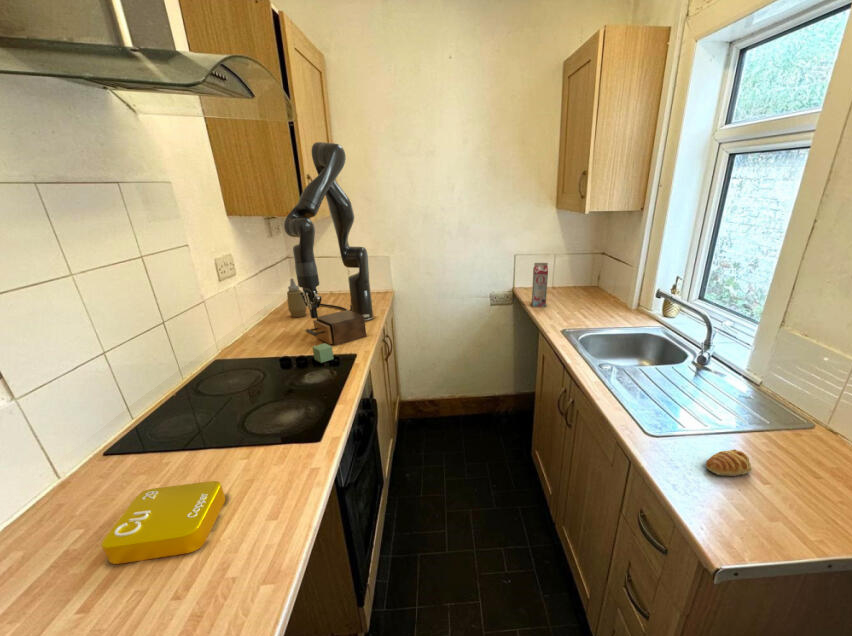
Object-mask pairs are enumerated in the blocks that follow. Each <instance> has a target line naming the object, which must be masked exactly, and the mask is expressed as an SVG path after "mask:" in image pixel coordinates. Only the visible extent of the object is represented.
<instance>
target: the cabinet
mask: <svg viewBox="0 0 852 636" xmlns="http://www.w3.org/2000/svg"><path fill="white" fill-rule="evenodd" d="M315 320H317V321H319V322H320V321H322V322H324V323H327V324H329V325H331V329H332V336H333V340H332V344H331V345H333V346H338V345H342V344H345V343H348V342H351V341H356V340H359V339H362V338H365V337H367V328H366V321H365V320H364V316H363V315H360V314H358V313H355V312H352V311H350V309H347V310H342V311H336V312H333V313H329V314H328V313H327V314H324V315H321V316H319V315H318V318H315Z"/></svg>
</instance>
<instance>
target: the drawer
mask: <svg viewBox="0 0 852 636" xmlns="http://www.w3.org/2000/svg"><path fill="white" fill-rule="evenodd" d="M312 323H313V327H314V328H311V329H309V328H307V329H305V332H306V333H307V334H309V335H311V336H313V337H315V338H316V339H318V340H321V341H322V342H324V343H326V344H328V345H333V344H332V340H333V336H332V329H331V325H329V324H327V323H324V322H322V321H320V322H319V321H317V320H316V319H313V320H312Z"/></svg>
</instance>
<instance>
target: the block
mask: <svg viewBox="0 0 852 636" xmlns="http://www.w3.org/2000/svg"><path fill="white" fill-rule="evenodd" d="M312 352H313V357H314V358H313V359H314V360H315V361H317V362H319V363H321V364H322V363H325V362H328V361H332V360H334V359H335V358H334V353H333V346H331V344H329V343H327V342H324V343H320V344H317V345H313V346H312Z"/></svg>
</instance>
